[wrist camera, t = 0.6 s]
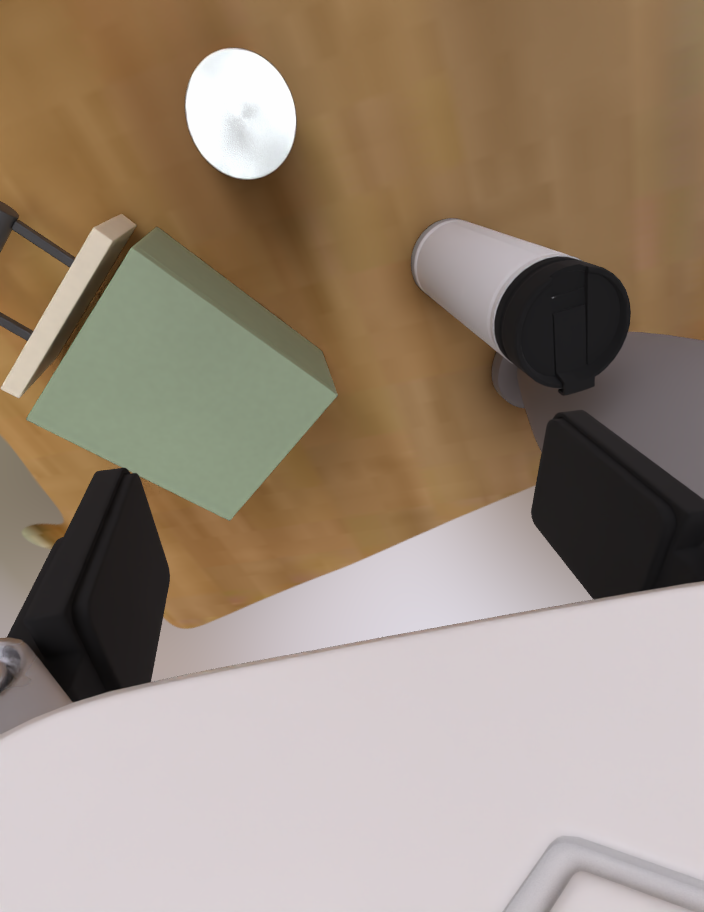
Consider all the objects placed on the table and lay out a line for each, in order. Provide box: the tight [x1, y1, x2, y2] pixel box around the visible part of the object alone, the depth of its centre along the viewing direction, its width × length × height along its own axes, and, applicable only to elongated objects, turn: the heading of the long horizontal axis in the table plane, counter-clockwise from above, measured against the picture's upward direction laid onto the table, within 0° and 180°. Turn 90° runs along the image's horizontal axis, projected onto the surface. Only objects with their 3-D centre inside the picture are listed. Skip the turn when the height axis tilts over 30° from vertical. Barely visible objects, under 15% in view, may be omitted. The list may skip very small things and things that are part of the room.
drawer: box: [0, 201, 137, 398], centre depth 36 cm, size 20×13×7 cm, turn 50°
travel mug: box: [411, 218, 631, 396], centre depth 33 cm, size 6×7×20 cm
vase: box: [492, 332, 704, 499], centre depth 33 cm, size 13×13×35 cm
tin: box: [185, 48, 297, 180], centre depth 32 cm, size 7×7×5 cm
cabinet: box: [26, 227, 337, 521], centre depth 38 cm, size 16×14×9 cm
